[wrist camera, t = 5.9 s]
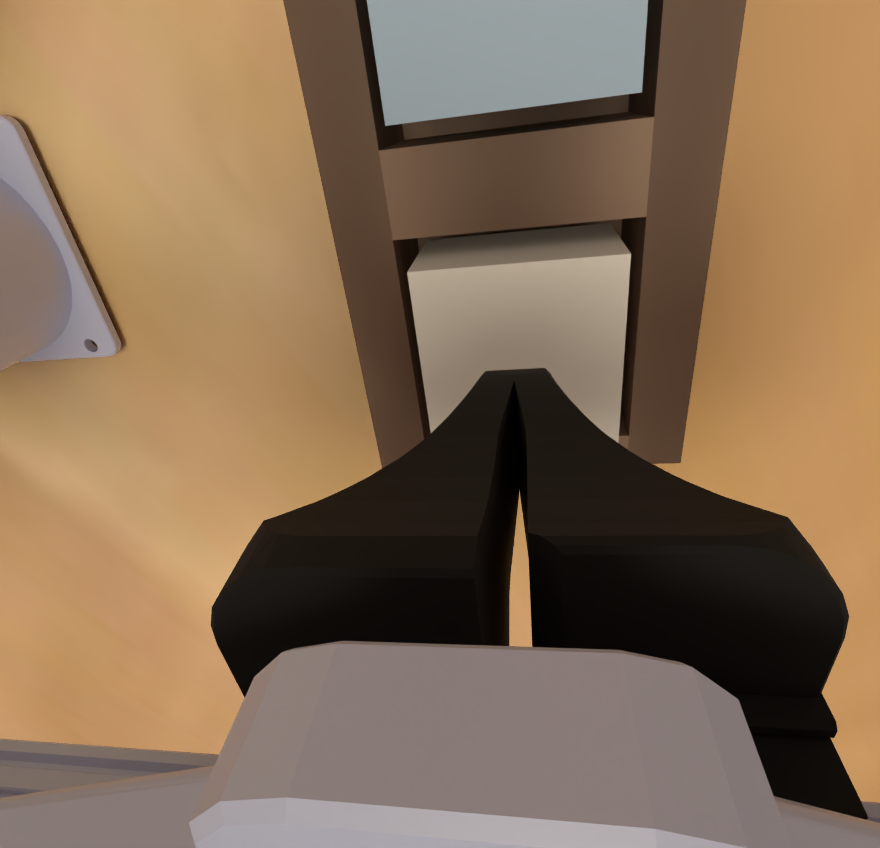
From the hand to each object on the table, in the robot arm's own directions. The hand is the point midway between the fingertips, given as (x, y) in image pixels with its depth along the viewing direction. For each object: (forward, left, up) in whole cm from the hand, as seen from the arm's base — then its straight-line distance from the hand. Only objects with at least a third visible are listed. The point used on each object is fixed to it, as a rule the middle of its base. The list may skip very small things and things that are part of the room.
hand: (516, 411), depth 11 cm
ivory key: (0, 0, -6) cm, 6 cm away
